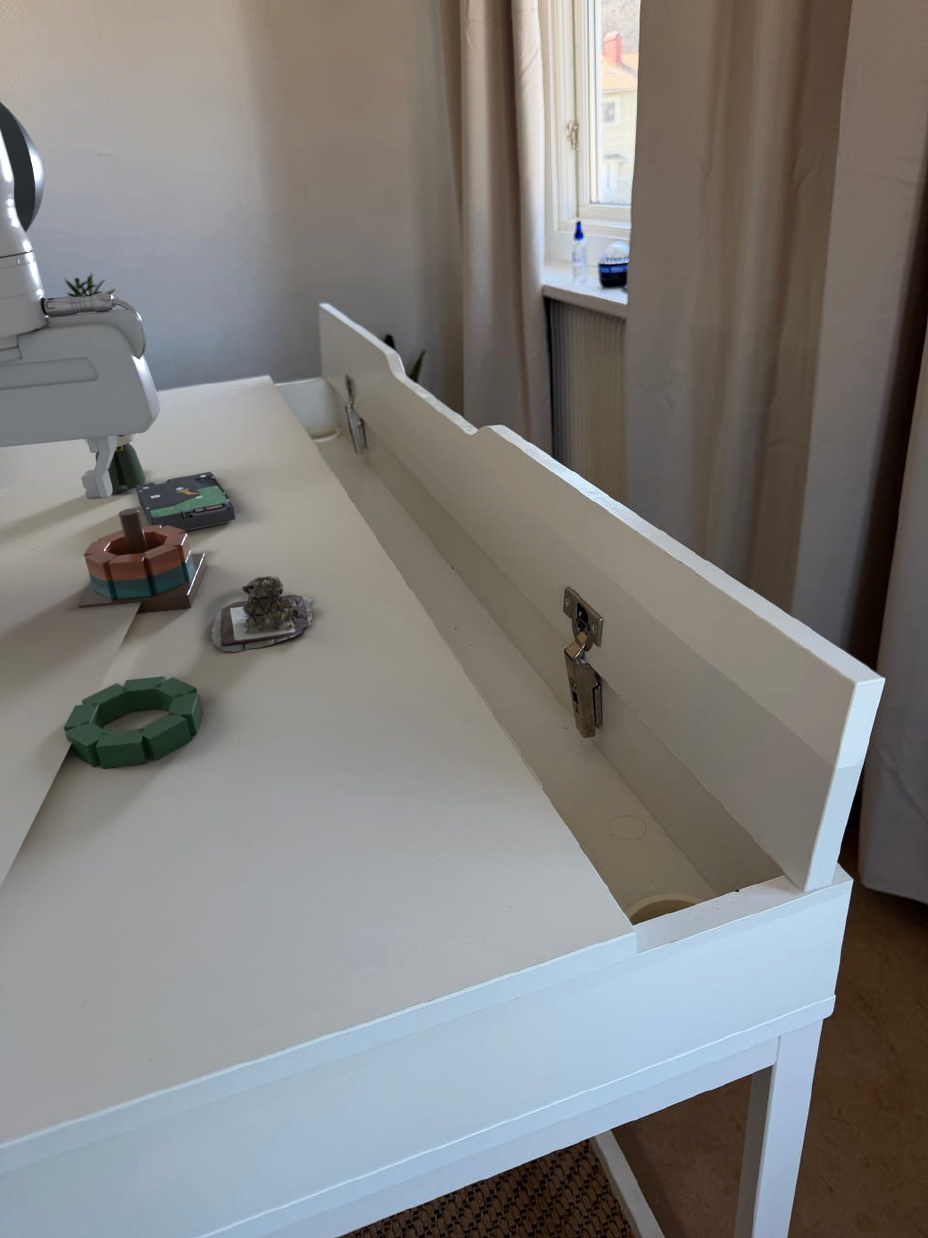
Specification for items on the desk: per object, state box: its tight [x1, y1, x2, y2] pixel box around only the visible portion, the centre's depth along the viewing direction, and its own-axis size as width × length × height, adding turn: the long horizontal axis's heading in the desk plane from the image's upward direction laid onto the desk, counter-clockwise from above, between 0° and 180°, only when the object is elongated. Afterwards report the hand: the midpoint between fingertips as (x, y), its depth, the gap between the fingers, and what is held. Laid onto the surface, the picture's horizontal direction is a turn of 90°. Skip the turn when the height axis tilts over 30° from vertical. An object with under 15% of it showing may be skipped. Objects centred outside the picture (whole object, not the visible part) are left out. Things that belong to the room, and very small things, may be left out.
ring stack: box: [78, 508, 208, 614], centre depth 99 cm, size 11×11×9 cm
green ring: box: [63, 675, 204, 769], centre depth 76 cm, size 10×10×2 cm
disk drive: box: [135, 471, 236, 532], centre depth 122 cm, size 10×3×15 cm
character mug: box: [83, 433, 146, 493], centre depth 130 cm, size 11×7×13 cm, turn 111°
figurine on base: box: [210, 575, 314, 653], centre depth 92 cm, size 12×6×11 cm
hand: (34, 503), depth 68 cm, fingers open, 8 cm apart
